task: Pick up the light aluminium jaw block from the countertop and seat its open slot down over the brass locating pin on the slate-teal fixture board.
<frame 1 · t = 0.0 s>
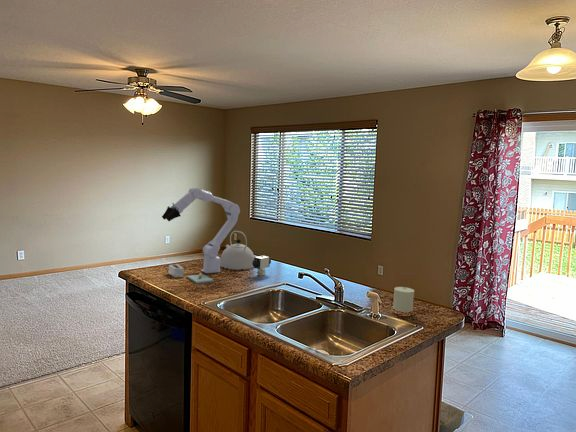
hand: (165, 219, 240), 32 cm above the worktop, tool tilted 50°, fingers open, 7 cm apart
fixture board: (200, 279, 240), on the worktop
locating pin: (200, 275, 240), on the fixture board, point 2 cm above the worktop
jaw block: (175, 275, 247), on the worktop
pneumatic valve: (260, 275, 258), on the worktop
can: (402, 313, 203), on the worktop
kettle: (236, 265, 280), on the worktop
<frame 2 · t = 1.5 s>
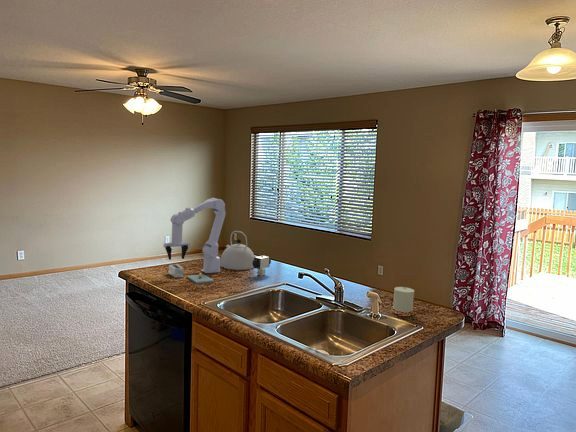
hand: (176, 259, 246), 9 cm above the worktop, tool pointing down, fingers open, 7 cm apart
nothing on the worktop moved.
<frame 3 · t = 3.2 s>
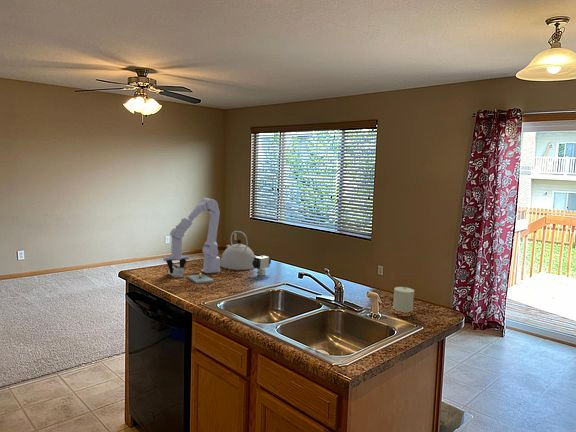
hand: (175, 272, 247), 1 cm above the worktop, tool pointing down, fingers closed on jaw block, 5 cm apart
jaw block: (175, 275, 247), on the worktop, touching gripper
everything else where it was.
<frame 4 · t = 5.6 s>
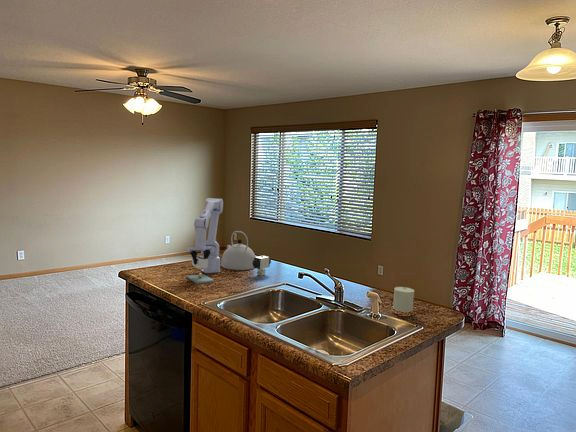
hand: (199, 263, 239), 9 cm above the worktop, tool pointing down, fingers closed on jaw block, 5 cm apart
jaw block: (199, 266, 240), point 7 cm above the worktop, touching gripper
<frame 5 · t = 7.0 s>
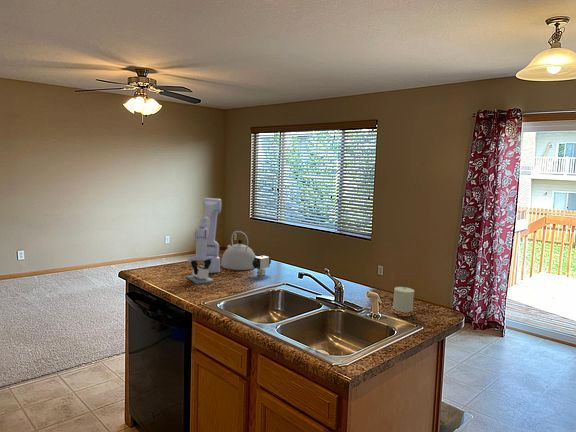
hand: (200, 273, 240), 3 cm above the worktop, tool pointing down, fingers closed on jaw block, 5 cm apart
jaw block: (200, 276, 240), point 2 cm above the worktop, touching gripper
when the fingers open (3 cm above the worktop, at t = 8.0 s): jaw block stays where it is, resting on fixture board.
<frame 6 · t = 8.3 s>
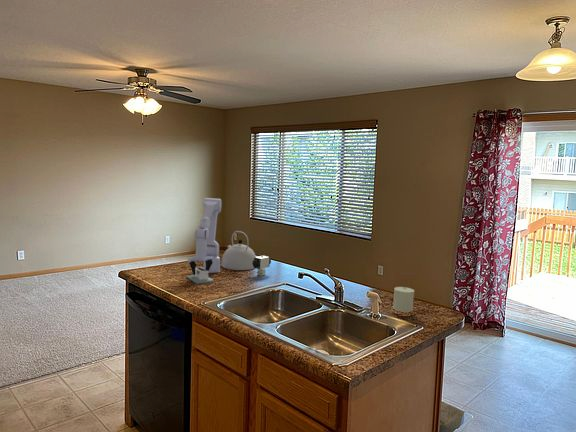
hand: (200, 274, 240), 3 cm above the worktop, tool pointing down, fingers open, 7 cm apart
jaw block: (200, 277, 240), point 1 cm above the worktop, touching fixture board
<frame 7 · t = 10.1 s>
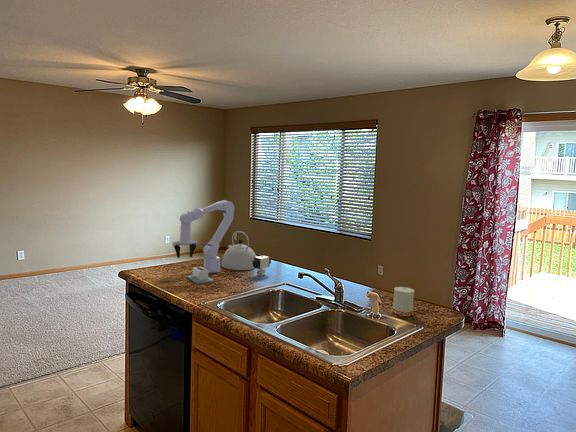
hand: (184, 257, 251), 9 cm above the worktop, tool pointing down, fingers open, 7 cm apart
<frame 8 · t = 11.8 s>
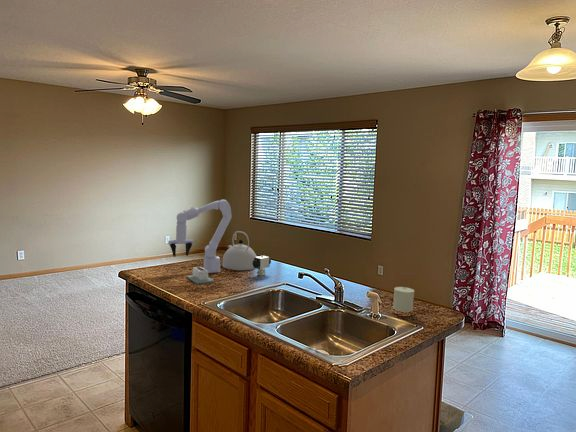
hand: (180, 255, 254), 9 cm above the worktop, tool pointing down, fingers open, 7 cm apart
at the end: jaw block 0.1 cm off-centre on the fixture board, point 1.0 cm above the fixture board's base; jaw block tilted 0°; the gripper is holding nothing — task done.
